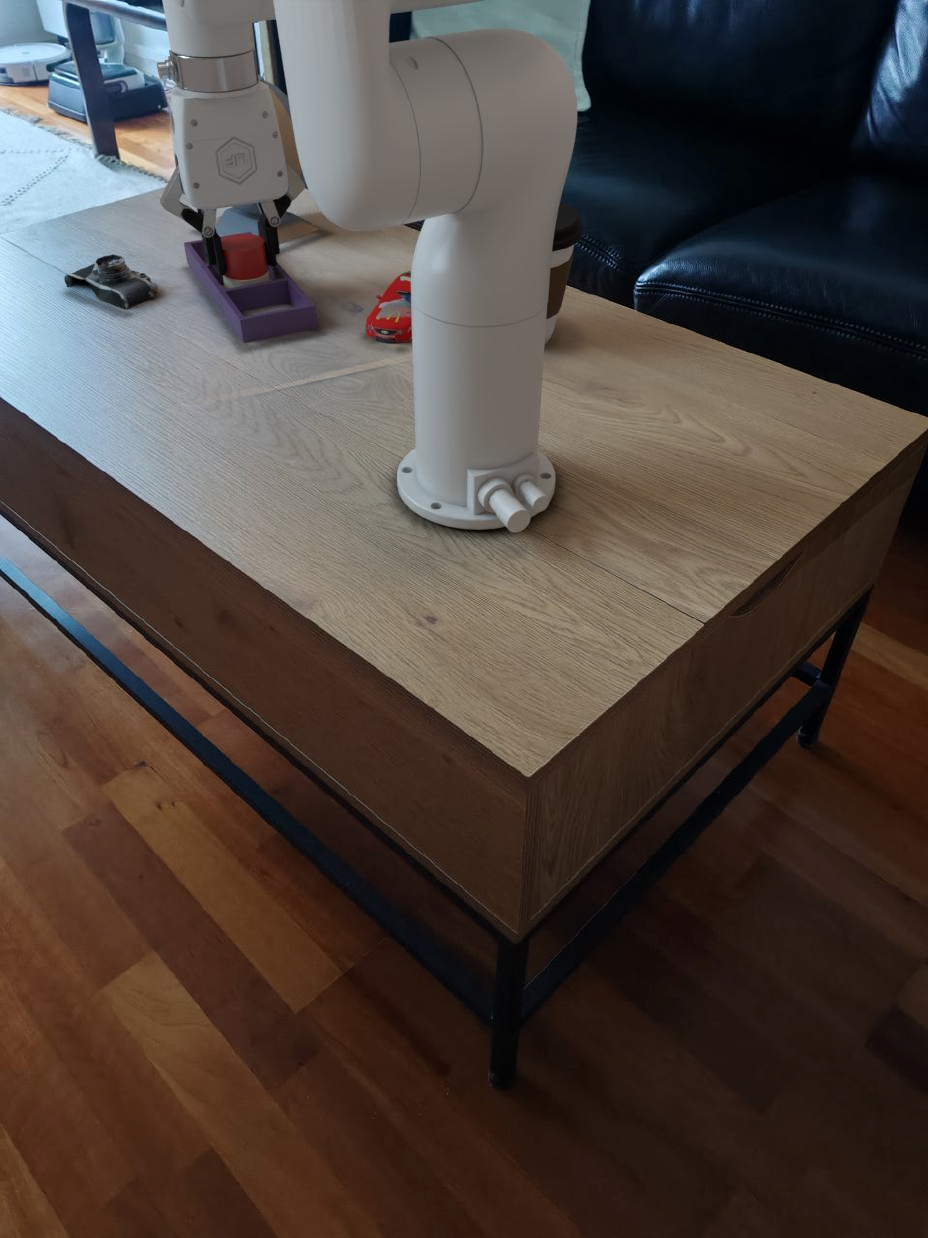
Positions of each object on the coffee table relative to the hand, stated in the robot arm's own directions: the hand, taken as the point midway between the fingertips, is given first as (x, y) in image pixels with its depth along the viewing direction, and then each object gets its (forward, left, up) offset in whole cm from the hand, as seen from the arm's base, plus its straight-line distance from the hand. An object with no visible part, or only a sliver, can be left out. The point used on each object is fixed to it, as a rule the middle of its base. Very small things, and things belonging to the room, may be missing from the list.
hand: (244, 264), depth 101 cm
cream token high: (0, 0, -2) cm, 2 cm away
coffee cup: (-20, -22, -4) cm, 30 cm away
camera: (+7, +13, -4) cm, 15 cm away
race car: (-12, -13, -4) cm, 18 cm away
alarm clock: (+18, -7, -4) cm, 20 cm away
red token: (0, 0, -1) cm, 1 cm away
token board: (0, 0, -4) cm, 4 cm away
